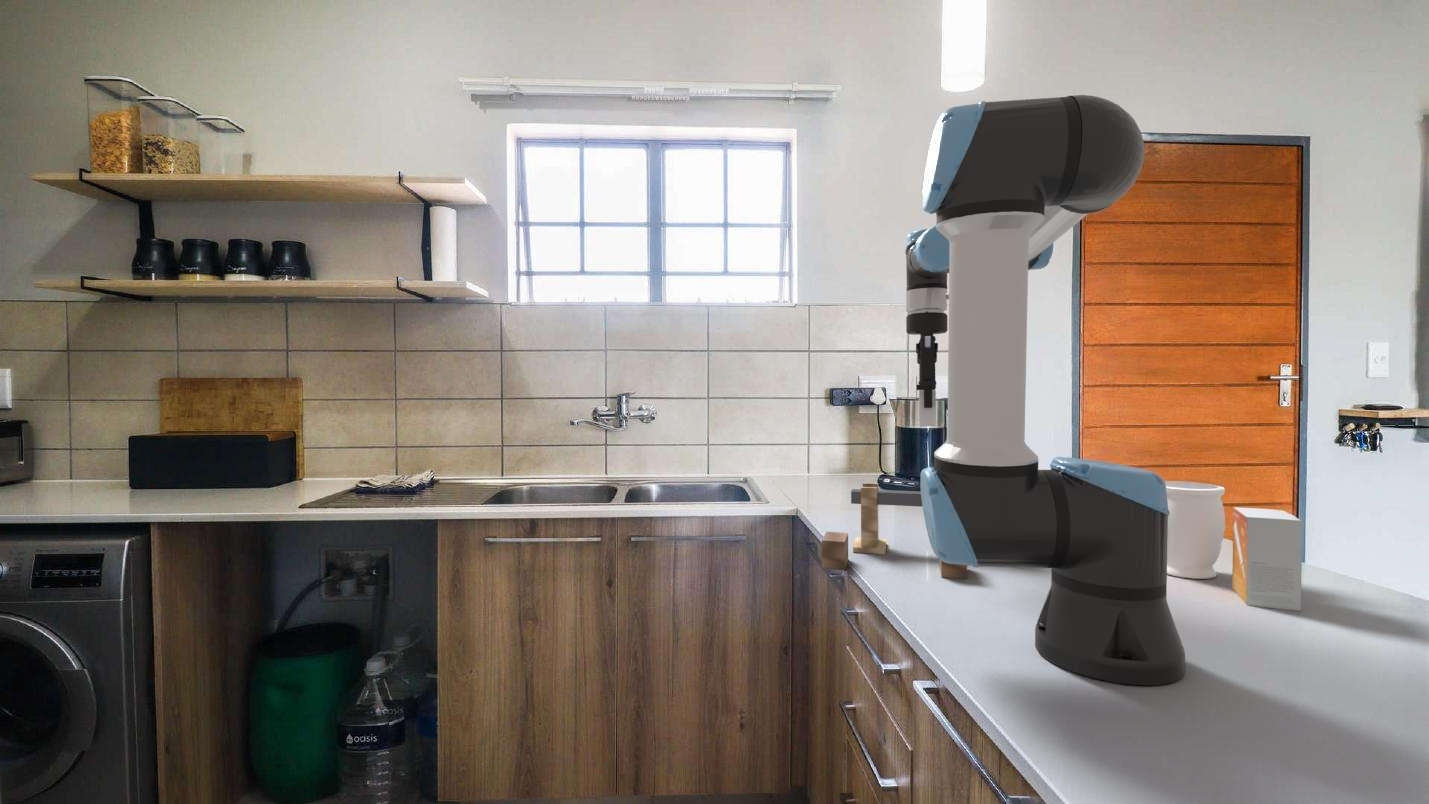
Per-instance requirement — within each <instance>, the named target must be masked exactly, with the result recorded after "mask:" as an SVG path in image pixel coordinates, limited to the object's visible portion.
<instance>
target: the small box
mask: <svg viewBox="0 0 1429 804" xmlns="http://www.w3.org/2000/svg"><path fill="white" fill-rule="evenodd" d="M1302 544H1303V521H1302V520H1301V519H1300V518H1298V517H1296V516H1295V515H1293V514H1291V513H1289V512H1287V511H1285V510H1283V509H1271V508H1258V507H1257V508H1255V507H1238V506H1236V507H1235V506H1234V507H1232V568H1231V569H1232V572H1231V573H1232V575H1231V576H1232V577H1231V578H1232V579H1231V584H1232V585H1231V586H1232V587H1231V588H1232V590H1234V592H1235V593H1236V594H1237V595H1238V596H1239V597H1240V598H1241V600H1242V601H1243V602H1244V604H1245V605H1247V606H1251V607H1252V606H1253V607H1261V608H1271V609H1279V610H1286V611H1295V612H1296V611H1298V612H1300V611H1301V612H1302V572H1303V571H1302V567H1303V565H1302V563H1303V561H1302V559H1303V558H1302V556H1303V555H1302V554H1303V552H1302V551H1303V550H1302V549H1303V548H1302V547H1303V546H1302Z"/></svg>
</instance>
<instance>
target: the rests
mask: <svg viewBox="0 0 1429 804" xmlns="http://www.w3.org/2000/svg"><path fill="white" fill-rule="evenodd" d="M938 561H939V563H938V564H939V571H940V577H941V578H947V579H948V578H949V579H962V580H963V579H964V580H967V579H968V565H960V564H949V563H945V562H943V561H941V560H940V559H939V558H938ZM848 562H849V532H840V531H838V532H836V531H826V532H825V533H824V536H823V537H822V539H821V569H824V570H839V571H845V570H846V568H847V564H848Z"/></svg>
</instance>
